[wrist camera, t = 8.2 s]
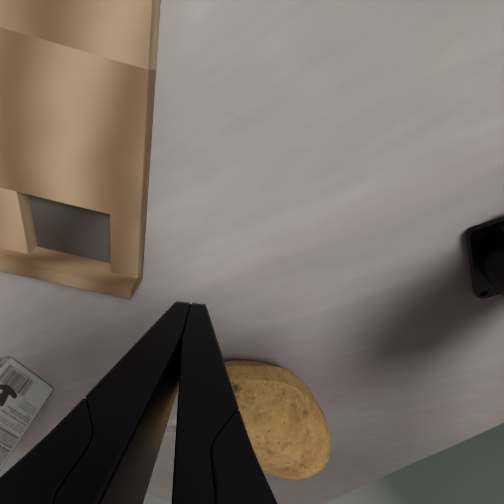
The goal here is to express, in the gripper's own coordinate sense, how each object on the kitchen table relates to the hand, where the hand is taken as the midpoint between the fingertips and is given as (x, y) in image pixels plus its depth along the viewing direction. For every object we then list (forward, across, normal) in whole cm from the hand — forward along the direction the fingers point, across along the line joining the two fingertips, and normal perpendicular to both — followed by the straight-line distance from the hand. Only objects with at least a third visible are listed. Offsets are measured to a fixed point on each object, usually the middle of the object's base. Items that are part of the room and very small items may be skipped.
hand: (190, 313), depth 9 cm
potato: (+12, -6, +20) cm, 24 cm away
